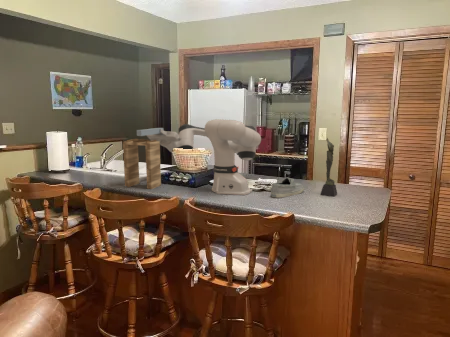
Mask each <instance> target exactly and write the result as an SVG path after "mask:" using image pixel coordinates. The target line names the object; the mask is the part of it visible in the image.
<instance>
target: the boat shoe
mask: <svg viewBox="0 0 450 337" xmlns="http://www.w3.org/2000/svg"><path fill="white" fill-rule="evenodd" d="M304 189H305V188H304V186H303V184H302V183H300V182H295V179H294V178H290V177H285V178H284V179H282V180H281V182H273V183H272V184H271V188H270V197H272V198H278V199H279V198H287V197H291V196H296V195H300V194H301V193H303V192H304Z"/></svg>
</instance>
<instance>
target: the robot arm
mask: <svg viewBox="0 0 450 337" xmlns="http://www.w3.org/2000/svg"><path fill="white" fill-rule="evenodd" d="M177 131H178V132H177ZM177 131H169V130H168V131H166V130H162V129H160V130H159V132H160V134H153V135H146V137H147V139H148V140H149V141H152V140H157V141H160V147H161V146H162V147H163V148H166V149H167V150H168V151H169V152H170V153H172V150H173V148H183V149H194V141H195V140H194V138H195V137H194V136H196V135H197V136H201V137H202V136H203V137H206V138H208V139H209V141H210V144H211V146H212V148H213V154H214V156H213V157H214V165H213V183H212V186H211V187H212V188H211V191H212V192H214V193H215V194H217V195H237V196H245V195H249V194H251V193H252V192H253V188H252V189H250V188H251V187H249V182H248V180H247V178H245V177H244V175H243V174H241V173H240V172H239V166H237V165H236V164H235V161H236V159H235V156H236V155H237V156H238V157H239V159H240V160H243V161H252V160H253V159H255V158H256V150H257V147H258V146H259V145H260V144H261V142H262V137H261V134H260V133H259V132H258V131H257V129H256V128H255V127H254V126H253V125H250V124H246V125H245V124H244V123H243V122H242V121H239V120H235V119H217V118H216V119H211V120H207V121H206V123H205V125H204V127H198V126H195V125H192V124H188V123H184V124H182V125H181V126H179V127H178V130H177Z"/></svg>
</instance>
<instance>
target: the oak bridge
mask: <svg viewBox="0 0 450 337" xmlns="http://www.w3.org/2000/svg"><path fill="white" fill-rule="evenodd" d="M139 146H145V171H146V189H148V190H153V189H156V188H158V187H161V186H162V180H161V178H162V175H161V172H162V171H161V145H160V141H157V140H152V141H151V140H150V139H145V138H141V139H139V138H133V139H127V140H125V141H122V153H123V169H124V172H123V173H124V187H125V186H127V187H128V188H130V187H133V186H136V185H139V184H140V167H139V166H140V164H139V163H140V162H139Z"/></svg>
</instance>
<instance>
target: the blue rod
mask: <svg viewBox="0 0 450 337" xmlns="http://www.w3.org/2000/svg"><path fill="white" fill-rule="evenodd" d="M160 129H162V130H164V127H155V128H148V129H147V128H146V129H145V128H144V129H136V136H138V137H145V136H147V135H153V134H160V132H159V130H160ZM164 131H165V130H164Z"/></svg>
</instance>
